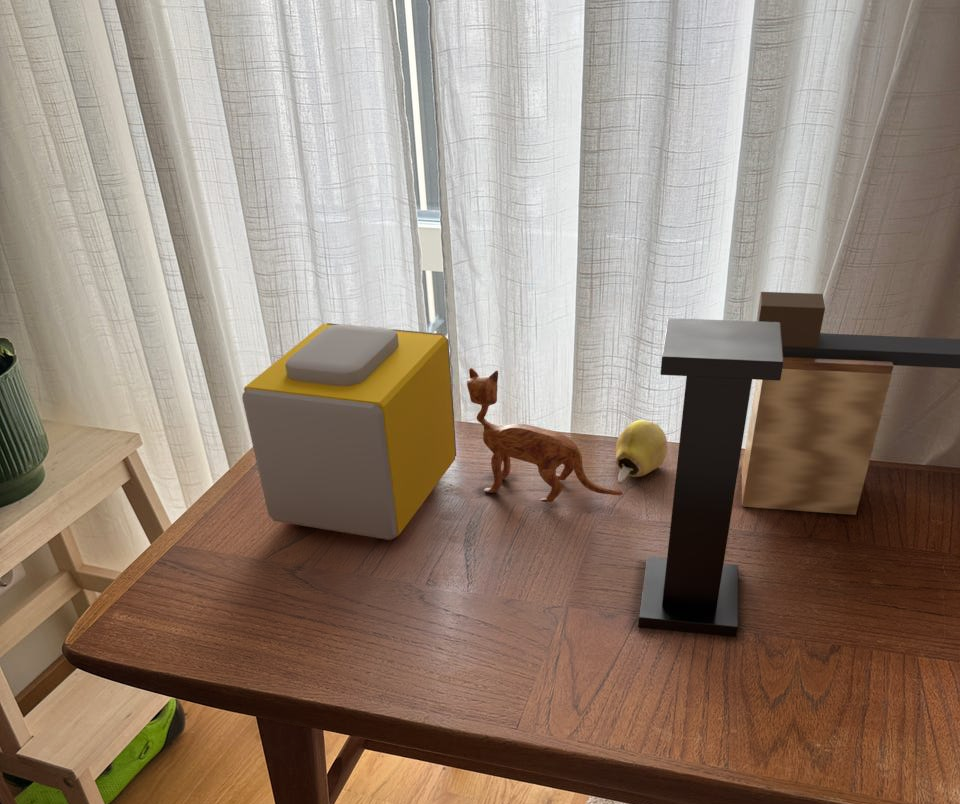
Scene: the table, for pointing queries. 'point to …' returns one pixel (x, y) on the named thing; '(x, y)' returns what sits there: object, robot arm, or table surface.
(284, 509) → the alarm clock
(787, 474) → the wavy wood-grain slab
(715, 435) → the shelf stand
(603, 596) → the table surface
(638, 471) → the fruit
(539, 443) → the cat figurine
